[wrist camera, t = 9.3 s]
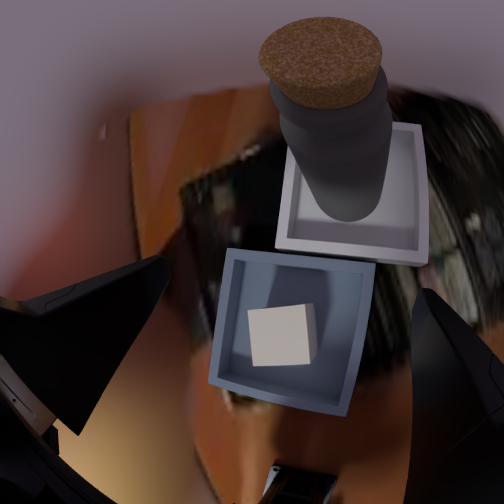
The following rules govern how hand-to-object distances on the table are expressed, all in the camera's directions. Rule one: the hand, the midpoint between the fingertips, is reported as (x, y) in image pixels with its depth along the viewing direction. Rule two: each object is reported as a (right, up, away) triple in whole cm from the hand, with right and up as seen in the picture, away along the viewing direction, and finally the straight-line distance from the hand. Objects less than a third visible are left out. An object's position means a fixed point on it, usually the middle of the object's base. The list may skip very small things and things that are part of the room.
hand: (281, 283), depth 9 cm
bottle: (+7, +6, +13) cm, 16 cm away
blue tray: (+2, -5, +13) cm, 14 cm away
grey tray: (+8, +6, +13) cm, 16 cm away
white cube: (+2, -5, +12) cm, 14 cm away
